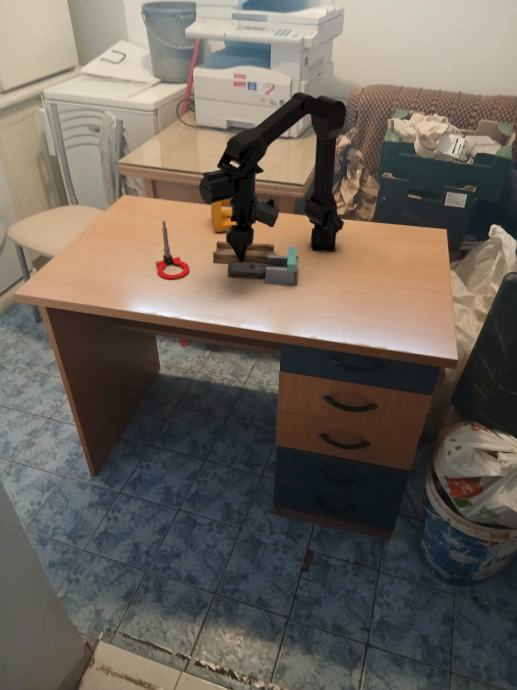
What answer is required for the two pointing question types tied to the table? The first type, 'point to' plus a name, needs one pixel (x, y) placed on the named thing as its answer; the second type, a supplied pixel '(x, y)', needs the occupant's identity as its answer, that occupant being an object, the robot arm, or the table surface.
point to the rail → (253, 254)
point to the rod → (249, 269)
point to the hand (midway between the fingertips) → (244, 252)
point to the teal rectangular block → (291, 259)
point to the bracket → (221, 216)
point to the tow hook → (170, 260)
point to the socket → (280, 271)
